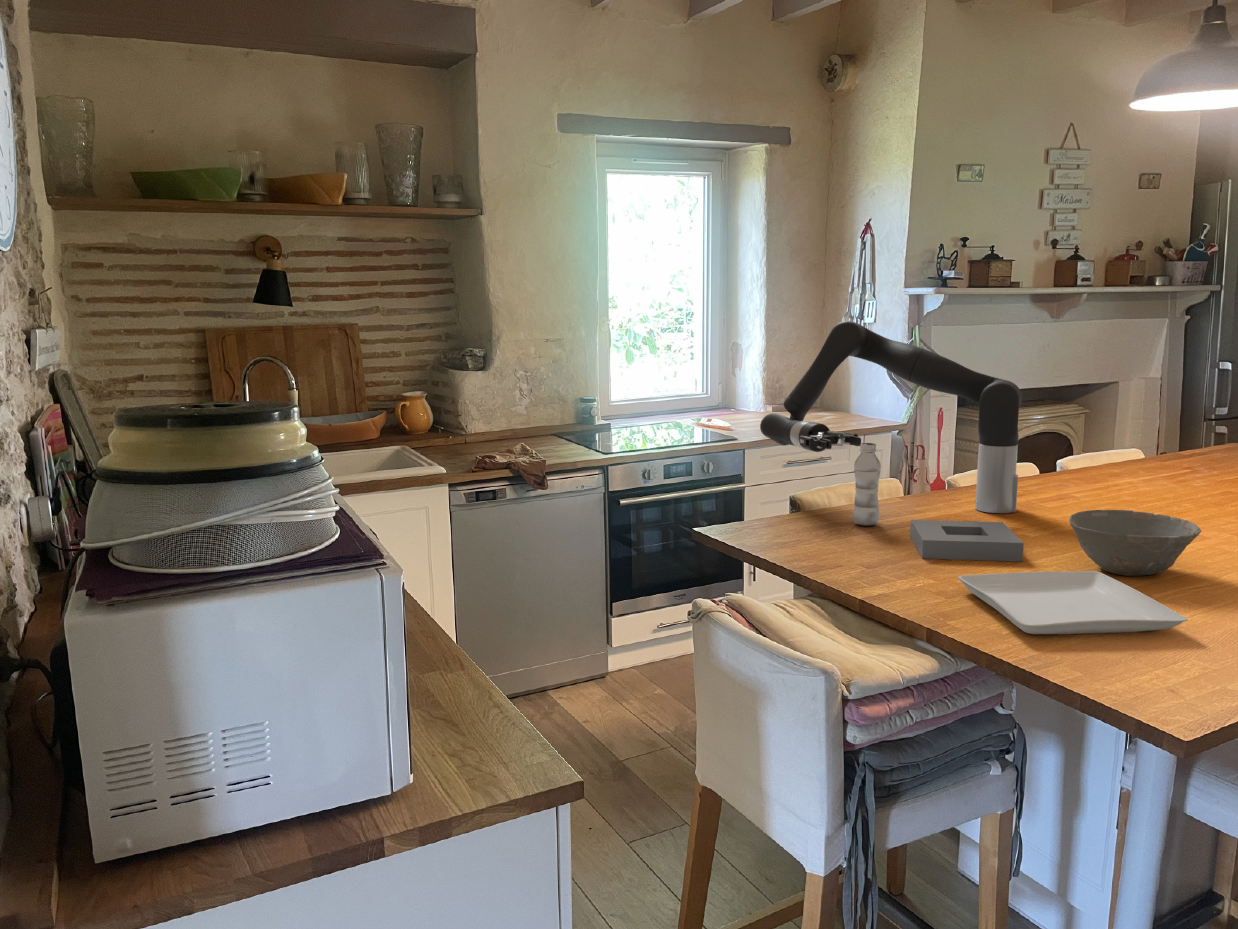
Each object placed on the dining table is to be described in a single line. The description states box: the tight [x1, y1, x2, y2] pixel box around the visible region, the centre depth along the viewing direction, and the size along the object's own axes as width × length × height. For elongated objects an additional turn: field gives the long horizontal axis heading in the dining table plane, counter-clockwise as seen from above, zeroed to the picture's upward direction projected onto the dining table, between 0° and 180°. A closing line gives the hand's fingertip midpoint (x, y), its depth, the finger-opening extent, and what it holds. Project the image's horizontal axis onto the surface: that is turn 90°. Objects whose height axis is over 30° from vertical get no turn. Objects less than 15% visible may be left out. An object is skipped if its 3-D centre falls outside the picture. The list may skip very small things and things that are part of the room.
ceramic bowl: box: [1068, 509, 1202, 577], centre depth 180 cm, size 22×23×10 cm
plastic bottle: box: [851, 442, 882, 527], centre depth 219 cm, size 6×7×20 cm
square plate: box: [957, 570, 1188, 635], centre depth 158 cm, size 27×27×4 cm
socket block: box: [909, 519, 1025, 562], centre depth 198 cm, size 20×18×4 cm
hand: (845, 443), depth 226 cm, fingers open, 8 cm apart
